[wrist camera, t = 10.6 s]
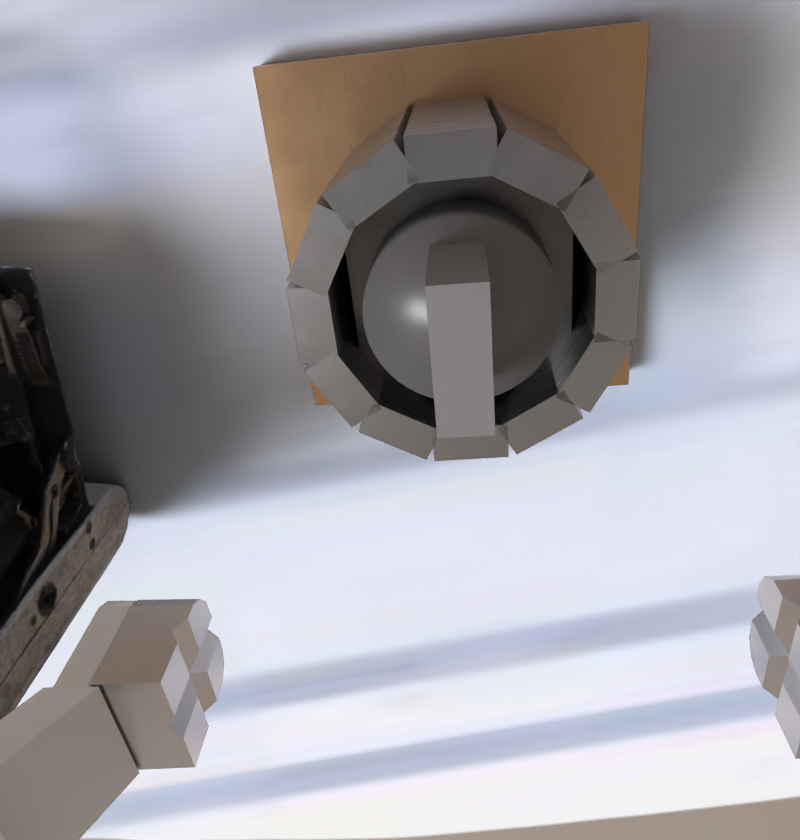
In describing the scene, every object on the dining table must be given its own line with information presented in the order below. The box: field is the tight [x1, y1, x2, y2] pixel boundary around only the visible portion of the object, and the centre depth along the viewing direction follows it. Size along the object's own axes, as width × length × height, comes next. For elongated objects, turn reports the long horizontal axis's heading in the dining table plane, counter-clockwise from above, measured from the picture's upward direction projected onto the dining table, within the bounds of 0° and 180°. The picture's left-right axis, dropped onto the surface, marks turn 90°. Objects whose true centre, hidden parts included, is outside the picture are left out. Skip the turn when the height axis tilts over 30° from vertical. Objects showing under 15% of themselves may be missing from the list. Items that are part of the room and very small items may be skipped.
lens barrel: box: [253, 21, 649, 461], centre depth 26 cm, size 14×14×9 cm
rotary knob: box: [362, 199, 561, 438], centre depth 21 cm, size 6×6×6 cm
